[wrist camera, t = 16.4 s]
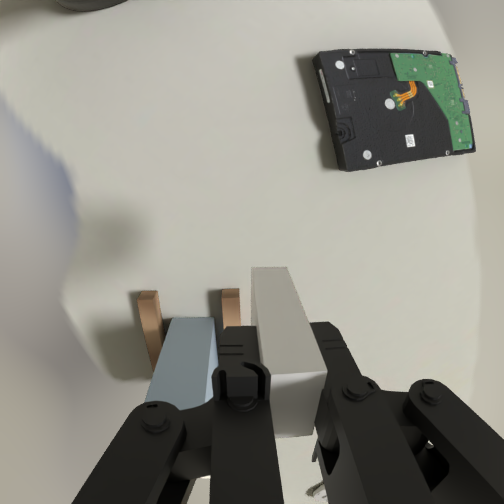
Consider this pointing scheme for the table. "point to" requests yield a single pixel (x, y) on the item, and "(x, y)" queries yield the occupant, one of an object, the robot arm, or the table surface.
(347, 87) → the disk drive
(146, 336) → the book slot
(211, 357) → the book
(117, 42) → the table surface
